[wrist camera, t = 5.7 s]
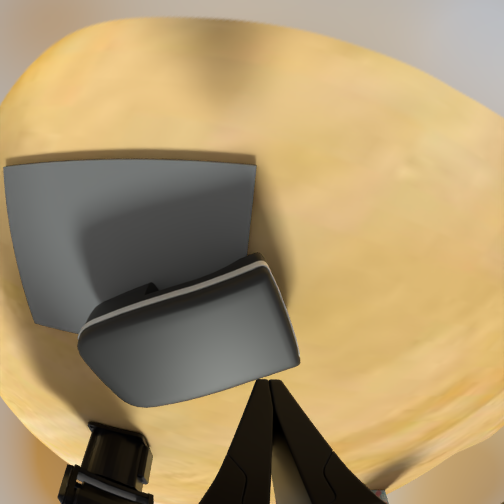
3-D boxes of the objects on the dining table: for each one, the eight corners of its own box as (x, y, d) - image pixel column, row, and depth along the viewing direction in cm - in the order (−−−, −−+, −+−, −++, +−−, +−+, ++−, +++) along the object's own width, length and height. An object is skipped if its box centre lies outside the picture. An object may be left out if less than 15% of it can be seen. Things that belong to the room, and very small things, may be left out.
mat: (37, 320, 17) (34, 323, 17) (7, 166, 13) (3, 167, 12) (236, 351, 19) (236, 355, 18) (256, 165, 14) (256, 166, 13)
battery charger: (257, 232, 15) (82, 299, 15) (272, 266, 12) (61, 340, 12) (290, 325, 18) (139, 372, 19) (307, 367, 15) (132, 414, 15)
